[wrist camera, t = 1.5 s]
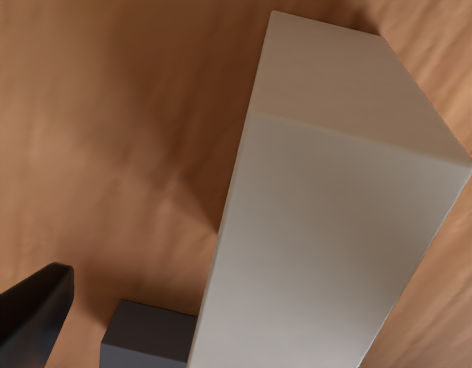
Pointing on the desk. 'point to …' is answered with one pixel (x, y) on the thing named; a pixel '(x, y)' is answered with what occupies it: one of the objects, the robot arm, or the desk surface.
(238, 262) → the plain white rectangular box
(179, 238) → the desk surface
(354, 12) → the desk surface
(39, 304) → the robot arm
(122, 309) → the dark grey square prism
